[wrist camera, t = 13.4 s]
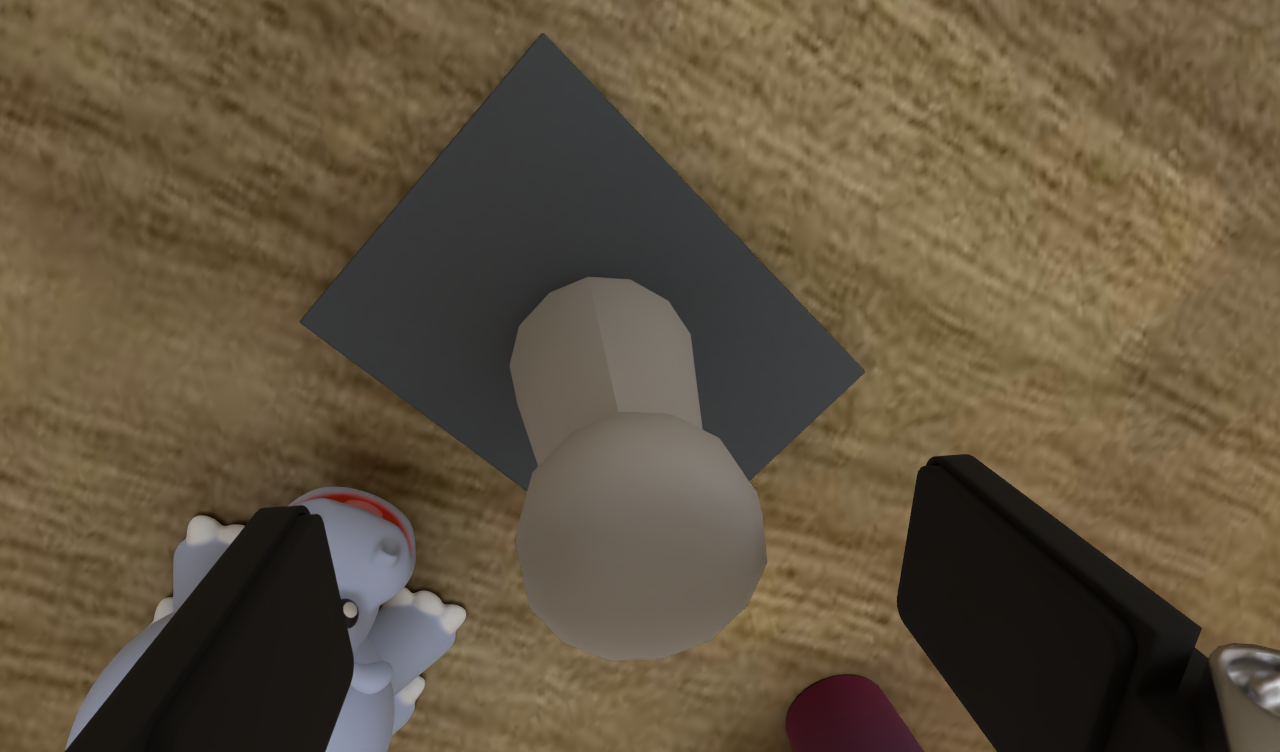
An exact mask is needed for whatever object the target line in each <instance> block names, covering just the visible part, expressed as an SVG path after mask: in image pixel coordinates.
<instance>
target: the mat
mask: <svg viewBox="0 0 1280 752" xmlns="http://www.w3.org/2000/svg"><path fill="white" fill-rule="evenodd" d="M586 277H601V278H616V279H630V280H632V281H634V282H636V283H637V284H639V285H641V286H643V287H645V288H646V289H648V290H650V291H652V292H653V293H655V294H657V295H659V296H661V297H662V298H664V299H666V300H668V301H669V302H670V304H671V305H672V307H673V308H674V310H675V312H676V313H677V315H678V316H679V318H680V319H681V321H682V322H683V324H684V325H685V327H686V328H687V330H688V331H689V333H690V334H691V341H692V350H693V358H694V366H695V374H696V382H697V390H698V397H699V405H700V413H701V421H702V428H703V430H704V431H706V432H708V433H710V434H712V435H714V436H716V437H718V438H720V440H721V441H722V442H723V444H724V445H725V447H726V448H727V450H728V451H729V453H730V454H731V455H732V457H733V458H734V460H735V461H736V463H737V464H738V466H739V467H740V469H741V470H742V472H743V473H744V475H745V476H746V478H747V479H748V480H749V481H750V480H751V479H752V478H753V477H754V476H755V475H756V474H757V473H758V472H759V471H760V470H762V469H763V468H764V467H765V466H766V465H767V464H768V463H769V462H770V461H771V460H772V459H773V458H774V457H775V456H776V455H778V454H779V453H780V452H781V451H782V450H783V449H784V448H785V447H786V446H787V445H788V444H789V443H790V442H791V441H792V440H793V439H795V438H796V437H797V436H798V435H799V434H800V433H801V432H802V431H803V430H804V429H805V428H806V427H807V426H808V425H809V424H810V423H812V422H813V421H814V420H815V419H816V418H817V417H818V416H819V415H820V414H821V413H822V412H823V411H824V410H825V409H826V408H828V407H829V406H830V405H831V404H832V403H833V402H834V401H835V400H836V399H837V398H838V397H839V396H840V395H841V394H842V393H843V392H845V391H846V390H847V389H848V388H849V387H850V386H851V385H852V384H853V383H854V382H855V381H856V380H857V379H858V378H859V377H860V376H862V375H863V374H864V373H865V371H864V369H863V368H862V367H861V366H860V365H859V364H858V363H857V362H856V361H855V360H854V359H853V358H852V357H851V356H850V355H849V354H848V353H847V352H846V351H845V350H844V348H843V347H842V346H841V345H840V344H839V343H838V342H837V341H836V340H835V339H834V338H833V337H832V336H831V335H830V334H829V333H828V332H827V331H826V330H825V328H824V327H823V326H822V325H821V324H820V323H819V322H818V321H817V320H816V319H815V318H814V317H813V316H812V315H811V314H810V313H809V312H808V311H807V310H806V308H805V307H804V306H803V305H802V304H801V303H800V302H799V301H798V300H797V299H796V298H795V297H794V296H793V295H792V294H791V293H790V292H789V291H788V290H787V288H786V287H785V286H784V285H783V284H782V283H781V282H780V281H779V280H778V279H777V278H776V277H775V276H774V275H773V274H772V273H771V272H770V271H769V270H768V268H767V267H766V266H765V265H764V264H763V263H762V262H761V261H760V260H759V259H758V258H757V257H756V256H755V255H754V254H753V253H752V252H751V251H750V250H749V249H748V247H747V246H746V245H745V244H744V243H743V242H742V241H741V240H740V239H739V238H738V237H737V236H736V235H735V234H734V233H733V232H732V231H731V230H730V229H729V227H728V226H727V225H726V224H725V223H724V222H723V221H722V220H721V219H720V218H719V217H718V216H717V215H716V214H715V213H714V212H713V211H712V210H711V209H710V207H709V206H708V205H707V204H706V203H705V202H704V201H703V200H702V199H701V198H700V197H699V196H698V195H697V194H696V193H695V192H694V191H693V190H692V189H691V187H690V186H689V185H688V184H687V183H686V182H685V181H684V180H683V179H682V178H681V177H680V176H679V175H678V174H677V173H676V172H675V171H674V170H673V169H672V167H671V166H670V165H669V164H668V163H667V162H666V161H665V160H664V159H663V158H662V157H661V156H660V155H659V154H658V153H657V152H656V151H655V150H654V149H653V148H652V146H651V145H650V144H649V143H648V142H647V141H646V140H645V139H644V138H643V137H642V136H641V135H640V134H639V133H638V132H637V131H636V130H635V129H634V128H633V126H632V125H631V124H630V123H629V122H628V121H627V120H626V119H625V118H624V117H623V116H622V115H621V114H620V113H619V112H618V111H617V110H616V109H615V108H614V106H613V105H612V104H611V103H610V102H609V101H608V100H607V99H606V98H605V97H604V96H603V95H602V94H601V93H600V92H599V91H598V90H597V89H596V88H595V86H594V85H593V84H592V83H591V82H590V81H589V80H588V79H587V78H586V77H585V76H584V75H583V74H582V73H581V72H580V71H579V70H578V69H577V68H576V66H575V65H574V64H573V63H572V62H571V61H570V60H569V59H568V58H567V57H566V56H565V55H564V54H563V53H562V52H561V51H560V50H559V49H558V48H557V47H556V45H555V44H554V43H553V42H552V41H551V40H550V39H549V38H548V37H547V36H546V35H545V34H544V33H542V34H541V35H540V36H539V37H538V39H537V40H536V41H535V42H534V43H533V45H532V46H531V47H530V48H529V49H528V50H527V52H526V53H525V54H524V55H523V56H522V58H521V59H520V60H519V61H518V62H517V64H516V65H515V66H514V67H513V68H512V69H511V71H510V72H509V73H508V74H507V75H506V77H505V78H504V79H503V80H502V81H501V83H500V84H499V85H498V86H497V87H496V89H495V90H494V91H493V92H492V93H491V94H490V96H489V97H488V98H487V99H486V100H485V102H484V103H483V104H482V105H481V106H480V108H479V109H478V110H477V111H476V112H475V113H474V115H473V116H472V117H471V118H470V119H469V121H468V122H467V123H466V124H465V125H464V127H463V128H462V129H461V130H460V131H459V132H458V134H457V135H456V136H455V137H454V138H453V140H452V141H451V142H450V143H449V144H448V146H447V147H446V148H445V149H444V150H443V152H442V153H441V154H440V155H439V156H438V157H437V159H436V160H435V161H434V162H433V163H432V165H431V166H430V167H429V168H428V169H427V171H426V172H425V173H424V174H423V175H422V176H421V178H420V179H419V180H418V181H417V182H416V184H415V185H414V186H413V187H412V188H411V190H410V191H409V192H408V193H407V194H406V196H405V197H404V198H403V199H402V200H401V201H400V203H399V204H398V205H397V206H396V207H395V209H394V210H393V211H392V212H391V213H390V215H389V216H388V217H387V218H386V219H385V220H384V222H383V223H382V224H381V225H380V226H379V228H378V229H377V230H376V231H375V232H374V234H373V235H372V236H371V237H370V238H369V240H368V241H367V242H366V243H365V244H364V245H363V247H362V248H361V249H360V250H359V251H358V253H357V254H356V255H355V256H354V257H353V259H352V260H351V261H350V262H349V263H348V264H347V266H346V267H345V268H344V269H343V270H342V272H341V273H340V274H339V275H338V276H337V278H336V279H335V280H334V281H333V282H332V283H331V285H330V286H329V287H328V288H327V289H326V291H325V292H324V293H323V294H322V295H321V297H320V298H319V299H318V300H317V301H316V303H315V304H314V305H313V306H312V307H311V308H310V310H309V311H308V312H307V313H306V314H305V316H304V317H303V318H302V319H301V320H300V323H301V324H302V325H304V326H305V327H307V328H308V329H309V330H311V331H312V332H313V333H315V334H316V335H317V336H319V337H320V338H321V339H323V340H324V341H325V342H327V343H328V344H329V345H331V346H332V347H333V348H335V349H336V350H338V351H339V352H340V353H342V354H343V355H344V356H346V357H347V358H348V359H350V360H351V361H352V362H354V363H355V364H356V365H358V366H359V367H360V368H362V369H363V370H364V371H366V372H367V373H369V374H370V375H371V376H373V377H374V378H375V379H377V380H378V381H379V382H381V383H382V384H383V385H385V386H386V387H387V388H389V389H390V390H391V391H393V392H394V393H395V394H397V395H398V396H400V397H401V398H402V399H404V400H405V401H406V402H408V403H409V404H410V405H412V406H413V407H414V408H416V409H417V410H418V411H420V412H421V413H422V414H424V415H425V416H426V417H428V418H429V419H431V420H432V421H433V422H435V423H436V424H437V425H439V426H440V427H441V428H443V429H444V430H445V431H447V432H448V433H449V434H451V435H452V436H453V437H455V438H456V439H457V440H459V441H460V442H462V443H463V444H464V445H466V446H467V447H468V448H470V449H471V450H472V451H474V452H475V453H476V454H478V455H479V456H480V457H482V458H483V459H484V460H486V461H487V462H488V463H490V464H491V465H492V466H494V467H495V468H497V469H498V470H499V471H501V472H502V473H503V474H505V475H506V476H507V477H509V478H510V479H511V480H513V481H514V482H515V483H517V484H518V485H519V486H521V487H522V488H523V489H525V490H526V491H527V490H528V487H529V483H530V480H531V476H532V472H533V471H534V470H535V469H536V468H537V467H538V464H537V461H536V458H535V455H534V452H533V449H532V446H531V443H530V440H529V437H528V434H527V431H526V428H525V425H524V422H523V419H522V416H521V413H520V410H519V407H518V405H517V400H516V395H515V390H514V385H513V380H512V375H511V370H510V361H511V357H512V353H513V349H514V345H515V341H516V337H517V333H518V328H519V326H520V324H521V323H522V322H523V321H524V320H525V319H526V318H527V317H528V316H529V315H530V314H531V312H532V311H533V310H534V309H535V308H536V307H537V306H538V305H539V304H540V303H541V302H542V301H543V299H544V298H545V297H546V296H547V295H548V294H549V293H550V292H552V291H555V290H557V289H560V288H562V287H565V286H567V285H569V284H572V283H574V282H577V281H579V280H581V279H584V278H586Z"/></svg>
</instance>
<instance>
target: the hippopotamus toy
mask: <svg viewBox="0 0 1280 752" xmlns="http://www.w3.org/2000/svg"><path fill="white" fill-rule="evenodd" d="M298 505H304V506H306V507H307V508H308V510H309V511H310V514H319V515H320V516H321V517H322V519H323V522H324V526H325V530H326V535H327V539H328V544H329V548H330V552H331V557H332V561H333V566H334V570H335V575H336V579H337V584H338V588H339V593H340V597H341V602H342V606H343V610H344V615H345V619H346V624H347V628H348V633H349V637H350V642H351V646H352V651H353V656H354V672H353V678H352V681H351V685H350V687H349V690H348V693H347V695H346V698H345V701H344V703H343V706H342V709H341V711H340V714H339V717H338V720H337V722H336V725H335V728H334V730H333V733H332V736H331V738H330V741H329V744H328V746H327V749H326V752H387V751H388V748H389V744H390V740H391V736H393V735H394V734H395V733H396V732H397V731H398V730H399V729H400V728H401V727H402V726H403V725H404V724H405V723H406V722H407V721H408V720H409V719H410V717H411V716H412V714H413V712H414V709H415V701H416V699H417V698H418V697H419V695H420V694H421V692H422V691H423V689H424V686H425V680H424V679H423V678H422V677H420V676H419V675H420V674H421V673H422V672H424V671H425V670H426V669H427V668H428V667H430V666H431V665H432V664H433V663H434V662H436V661H437V660H438V659H439V658H440V657H441V656H443V655H444V654H445V653H446V652H447V651H448V650H449V649H450V648H451V647H452V645H453V643H454V641H455V637H456V630H457V629H458V628H459V627H460V626H461V625H462V623H463V622H464V620H465V618H466V611H465V610H464V609H463V608H462V607H460V606H458V605H454V604H448V605H446V604H443V603H442V601H441V600H440V598H439V597H438V596H437V595H435V594H434V593H432V592H429V591H418V592H416V593H411V592H410V591H409V590H408V589H407V588H405V587H404V586H405V585H406V584H407V582H408V581H409V579H410V578H411V576H412V573H413V570H414V566H415V560H416V543H415V536H414V532H413V528H412V525H411V523H410V521H409V520H408V518H407V517H406V516H405V515H404V514H403V513H402V512H401V511H400V510H399V509H397V508H396V507H395V506H394V505H392V504H390V503H389V502H387V501H385V500H383V499H381V498H379V497H377V496H375V495H373V494H370V493H367V492H364V491H361V490H357V489H353V488H348V487H337V486H328V487H321V488H318V489H315V490H312V491H310V492H308V493H306V494H304V495H302V496H300V497H299V498H297V499H296V500H294V501H293V502H292V503H290V504H289V505H288V506H298ZM244 527H245V526H244V525H239V524H233V525H228V526H223V525H221V524H220V523H219V522H218V521H216V520H215V519H213V518H211V517H208V516H204V515H199V516H196V517H194V518H193V519H192V520H191V521H190V523H189V525H188V529H187V537H186V539H185V540H184V541H182V542H181V543H180V544H179V546H178V547H177V549H176V551H175V554H174V562H173V597H167V598H164V599H163V600H161V602H160V603H159V605H158V606H157V609H156V612H155V616H154V620H153V621H152V622H151V623H150V624H149V625H148V626H147V627H146V628H145V629H144V630H143V631H142V632H140V633H139V634H138V635H137V636H136V637H134V638H133V639H132V640H131V641H130V642H129V643H128V644H127V645H126V646H124V647H123V648H122V649H121V650H120V652H119V653H118V654H117V655H116V656H115V657H114V658H113V659H112V660H111V662H110V663H109V664H108V665H107V666H106V668H105V669H104V670H103V672H102V673H101V674H100V676H99V677H98V679H97V680H96V682H95V683H94V685H93V686H92V688H91V689H90V691H89V693H88V694H87V696H86V698H85V700H84V702H83V704H82V706H81V708H80V710H79V712H78V714H77V716H76V719H75V721H74V724H73V726H72V729H71V732H70V735H69V738H68V742H67V746H66V749H67V748H68V747H69V746H70V744H71V743H72V742H73V741H74V739H75V738H76V737H77V736H78V734H79V733H80V732H81V731H82V729H83V728H84V727H85V726H86V724H87V723H88V722H89V721H90V719H91V718H92V717H93V716H94V714H95V713H96V712H97V711H98V709H99V708H100V707H101V706H102V704H103V703H104V702H105V701H106V699H107V698H108V697H109V696H110V694H111V693H112V692H113V691H114V689H115V688H116V687H117V686H118V684H119V683H120V682H121V681H122V679H123V678H124V677H125V676H126V674H127V673H128V672H129V671H130V669H131V668H132V667H133V666H134V664H135V663H136V662H137V661H138V659H139V658H140V657H141V656H142V654H143V653H144V652H145V651H146V649H147V648H148V647H149V646H150V644H151V643H152V642H153V641H154V639H155V638H156V637H157V636H158V634H159V633H160V632H161V631H162V629H163V628H164V627H165V626H166V624H167V623H168V622H169V621H170V619H171V618H172V617H173V616H174V614H175V613H176V612H177V611H178V609H179V608H180V607H181V606H182V604H183V603H184V602H185V601H186V599H187V598H188V597H189V596H190V594H191V593H192V592H193V591H194V589H195V588H196V587H197V586H198V584H199V583H200V582H201V581H202V579H203V578H204V577H205V576H206V574H207V573H208V572H209V571H210V569H211V568H212V567H213V566H214V564H215V563H216V562H217V561H218V559H219V558H220V557H221V556H222V554H223V553H224V552H225V551H226V549H227V548H228V547H229V546H230V544H231V543H232V542H233V541H234V539H235V538H236V537H237V536H238V534H239V533H240V532H241V531H242V529H243V528H244ZM381 604H383V605H382V607H381V608H380V610H379V607H380V605H381ZM65 751H66V750H65Z"/></svg>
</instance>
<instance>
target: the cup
mask: <svg viewBox="0 0 1280 752" xmlns="http://www.w3.org/2000/svg"><path fill="white" fill-rule="evenodd" d="M786 730H787V734H788V737H789V741H790V744H791V747H792V750H793V752H924V751H923V749H922V748H921V746H920V745H919V743H918V742H917V740H916V739H915V738H914V736H913V735H912V733H911V732H910V730H909V729H908V727H907V726H906V724H905V723H904V722H903V720H902V719H901V717H900V716H899V714H898V713H897V711H896V710H895V709H894V707H893V706H892V704H891V703H890V701H889V700H888V698H887V697H886V695H885V694H884V693H883V691H882V690H881V689H880V688H879V686H878V685H876V684H875V683H873V682H872V681H871V680H868V679H866V678H863V677H859V676H852V675H843V676H836V677H832V678H828V679H825V680H822V681H820V682H818V683H816V684H814V685H813V686H811V687H810V688H808V689H807V690H805V691H804V692H803V693H802V694H801V695H800V696H799V697H798V698H797V699H796V700H795V702H794V703H793V704H792V706H791V708H790V710H789V712H788V716H787V720H786Z"/></svg>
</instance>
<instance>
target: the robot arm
mask: <svg viewBox="0 0 1280 752" xmlns="http://www.w3.org/2000/svg"><path fill="white" fill-rule="evenodd" d="M897 608H898V612H899V615H900V617H901V619H902V621H903V623H904V624H905V626H906V627H907V628H908V630H909V631H910V633H911V634H912V635H913V637H914V638H915V639H916V641H917V642H918V644H919V645H920V646H921V648H922V649H923V650H924V652H925V653H926V655H927V656H928V657H929V659H930V660H931V661H932V663H933V664H934V666H935V667H936V668H937V670H938V671H939V672H940V674H941V675H942V677H943V678H944V679H945V681H946V682H947V683H948V685H949V686H950V688H951V689H952V690H953V692H954V693H955V694H956V696H957V697H958V699H959V700H960V701H961V703H962V704H963V705H964V707H965V708H966V710H967V711H968V712H969V714H970V715H971V716H972V718H973V719H974V721H975V722H976V723H977V725H978V726H979V727H980V729H981V730H982V732H983V733H984V734H985V736H986V737H987V738H988V740H989V741H990V743H991V744H992V745H993V747H994V748H995V749H996V751H997V752H1280V651H1279V650H1276V649H1271V648H1267V647H1263V646H1258V645H1254V644H1238V643H1232V644H1227V645H1223V646H1218V647H1217V648H1216V649H1215V650H1214V651H1213V652H1212V653H1211V654H1210V656H1209V659H1208V658H1207V657H1206V656H1205V655H1203V654H1202V653H1201V652H1200V651H1198V650H1197V649H1196V648H1195V645H1196V642H1197V639H1198V637H1199V634H1200V632H1201V629H1202V628H1201V627H1200V626H1198V625H1197V624H1196V623H1194V622H1193V621H1192V620H1190V619H1189V618H1188V617H1186V616H1185V615H1184V614H1182V613H1181V612H1180V611H1179V610H1177V609H1176V608H1175V607H1173V606H1172V605H1171V604H1169V603H1168V602H1167V601H1165V600H1164V599H1163V598H1161V597H1160V596H1159V595H1157V594H1156V593H1155V592H1153V591H1152V590H1151V589H1149V588H1148V587H1147V586H1145V585H1144V584H1143V583H1141V582H1140V581H1139V580H1137V579H1136V578H1135V577H1133V576H1132V575H1131V574H1129V573H1128V572H1127V571H1125V570H1124V569H1123V568H1121V567H1120V566H1119V565H1117V564H1116V563H1115V562H1113V561H1112V560H1111V559H1109V558H1108V557H1107V556H1105V555H1104V554H1103V553H1101V552H1100V551H1099V550H1097V549H1096V548H1095V547H1093V546H1092V545H1091V544H1089V543H1088V542H1087V541H1085V540H1084V539H1083V538H1081V537H1080V536H1079V535H1077V534H1076V533H1075V532H1073V531H1072V530H1071V529H1069V528H1068V527H1067V526H1065V525H1064V524H1063V523H1061V522H1060V521H1059V520H1057V519H1056V518H1055V517H1053V516H1052V515H1051V514H1049V513H1048V512H1047V511H1045V510H1044V509H1043V508H1041V507H1040V506H1039V505H1037V504H1036V503H1035V502H1033V501H1032V500H1031V499H1029V498H1028V497H1027V496H1025V495H1024V494H1023V493H1021V492H1020V491H1019V490H1017V489H1016V488H1015V487H1013V486H1012V485H1011V484H1009V483H1008V482H1007V481H1005V480H1004V479H1003V478H1001V477H1000V476H999V475H997V474H996V473H995V472H993V471H992V470H991V469H989V468H988V467H987V466H985V465H984V464H983V463H981V462H980V461H979V460H977V459H976V458H975V457H973V456H971V455H969V454H962V455H949V456H936V457H932V458H931V459H929V461H928V462H927V464H926V466H923V467H921V468H920V470H919V471H918V475H917V479H916V486H915V492H914V498H913V504H912V510H911V516H910V522H909V528H908V534H907V540H906V546H905V552H904V558H903V565H902V571H901V577H900V583H899V589H898V595H897ZM353 672H354V656H353V651H352V646H351V642H350V637H349V633H348V628H347V624H346V619H345V615H344V610H343V606H342V602H341V597H340V593H339V588H338V584H337V579H336V575H335V570H334V566H333V561H332V557H331V552H330V548H329V544H328V539H327V535H326V530H325V526H324V522H323V519H322V517H321V516H320V515H319V514H310V511H309V510H308V508H307V507H306V506H304V505H298V506H285V507H272V508H262V509H259V510H258V511H257V512H256V513H255V514H254V516H253V517H252V518H251V519H250V521H249V522H248V523H247V524H246V526H245V527H244V528H243V529H242V531H241V532H240V533H239V534H238V536H237V537H236V538H235V539H234V541H233V542H232V543H231V544H230V546H229V547H228V548H227V549H226V551H225V552H224V553H223V554H222V556H221V557H220V558H219V559H218V561H217V562H216V563H215V564H214V566H213V567H212V568H211V569H210V571H209V572H208V573H207V574H206V576H205V577H204V578H203V579H202V581H201V582H200V583H199V584H198V586H197V587H196V588H195V589H194V591H193V592H192V593H191V594H190V596H189V597H188V598H187V599H186V601H185V602H184V603H183V604H182V606H181V607H180V608H179V609H178V611H177V612H176V613H175V614H174V616H173V617H172V618H171V619H170V621H169V622H168V623H167V624H166V626H165V627H164V628H163V629H162V631H161V632H160V633H159V634H158V636H157V637H156V638H155V639H154V641H153V642H152V643H151V644H150V646H149V647H148V648H147V649H146V651H145V652H144V653H143V654H142V656H141V657H140V658H139V659H138V661H137V662H136V663H135V664H134V666H133V667H132V668H131V669H130V671H129V672H128V673H127V674H126V676H125V677H124V678H123V679H122V681H121V682H120V683H119V684H118V686H117V687H116V688H115V689H114V691H113V692H112V693H111V694H110V696H109V697H108V698H107V699H106V701H105V702H104V703H103V704H102V706H101V707H100V708H99V709H98V711H97V712H96V713H95V714H94V716H93V717H92V718H91V719H90V721H89V722H88V723H87V724H86V726H85V727H84V728H83V729H82V731H81V732H80V733H79V734H78V736H77V737H76V738H75V739H74V741H73V742H72V743H71V744H70V746H69V747H68V748H67V749H66V751H65V752H326V749H327V746H328V744H329V741H330V738H331V736H332V733H333V730H334V728H335V725H336V722H337V720H338V717H339V714H340V711H341V709H342V706H343V703H344V701H345V698H346V695H347V693H348V690H349V687H350V685H351V681H352V678H353Z"/></svg>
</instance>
